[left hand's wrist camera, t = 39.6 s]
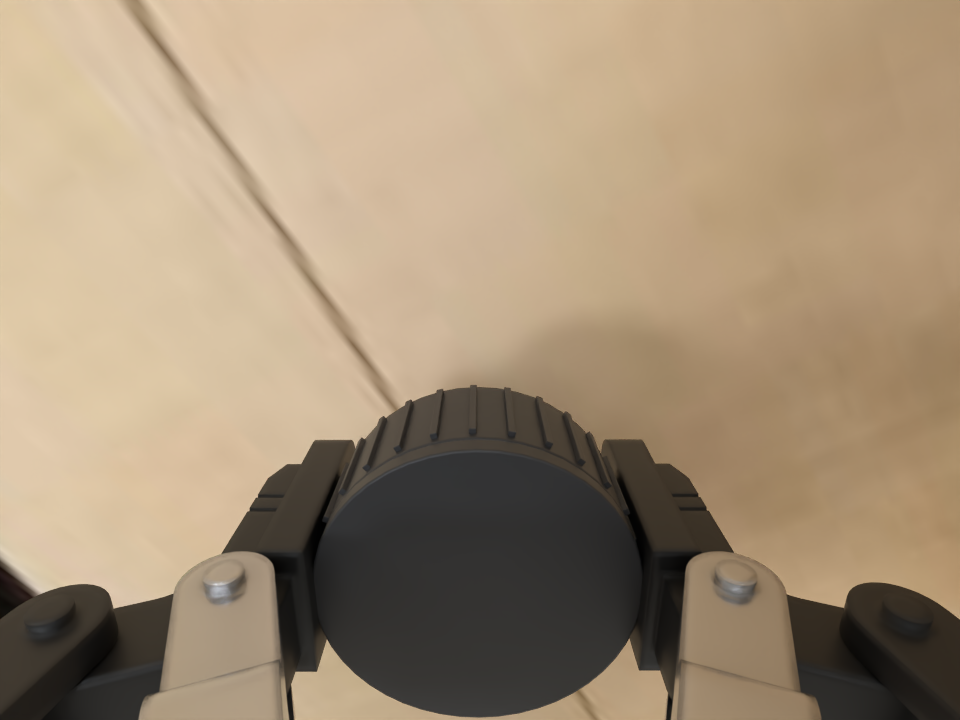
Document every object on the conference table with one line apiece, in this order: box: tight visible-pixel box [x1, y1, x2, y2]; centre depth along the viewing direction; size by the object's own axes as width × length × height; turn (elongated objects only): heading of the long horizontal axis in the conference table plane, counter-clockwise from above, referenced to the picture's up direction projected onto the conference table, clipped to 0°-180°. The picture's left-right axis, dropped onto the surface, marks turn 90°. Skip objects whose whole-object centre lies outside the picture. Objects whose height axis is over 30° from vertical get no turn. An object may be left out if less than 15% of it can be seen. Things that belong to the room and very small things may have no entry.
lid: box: [313, 385, 643, 717], centre depth 10 cm, size 5×5×2 cm
